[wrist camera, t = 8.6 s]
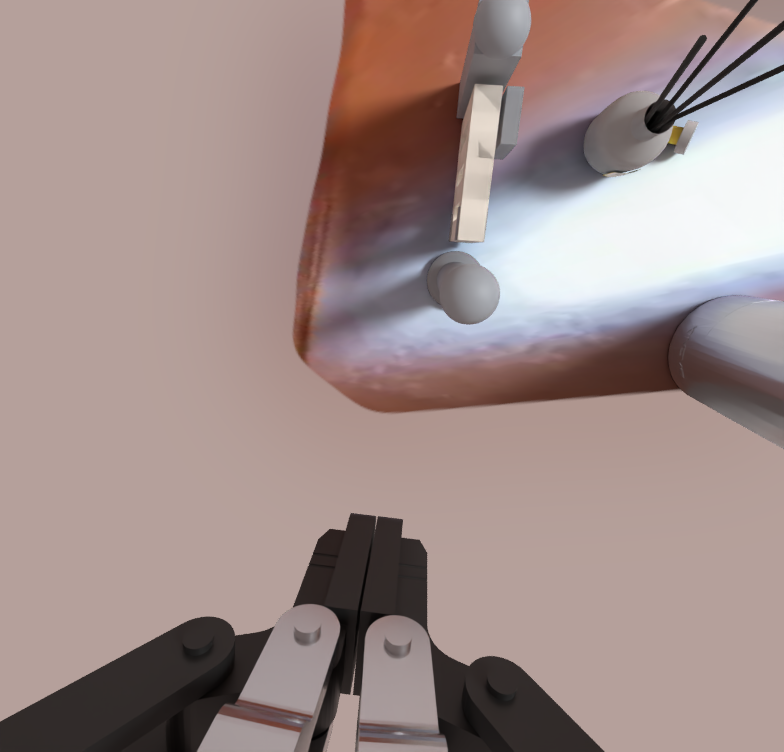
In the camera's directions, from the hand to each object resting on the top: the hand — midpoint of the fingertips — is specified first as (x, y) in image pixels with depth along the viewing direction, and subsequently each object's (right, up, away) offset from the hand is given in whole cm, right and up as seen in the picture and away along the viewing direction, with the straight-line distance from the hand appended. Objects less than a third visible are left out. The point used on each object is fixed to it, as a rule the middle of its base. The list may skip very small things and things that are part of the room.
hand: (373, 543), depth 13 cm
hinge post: (+6, +13, +25) cm, 29 cm away
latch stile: (+7, +24, +22) cm, 33 cm away
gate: (+6, +20, +22) cm, 30 cm away
